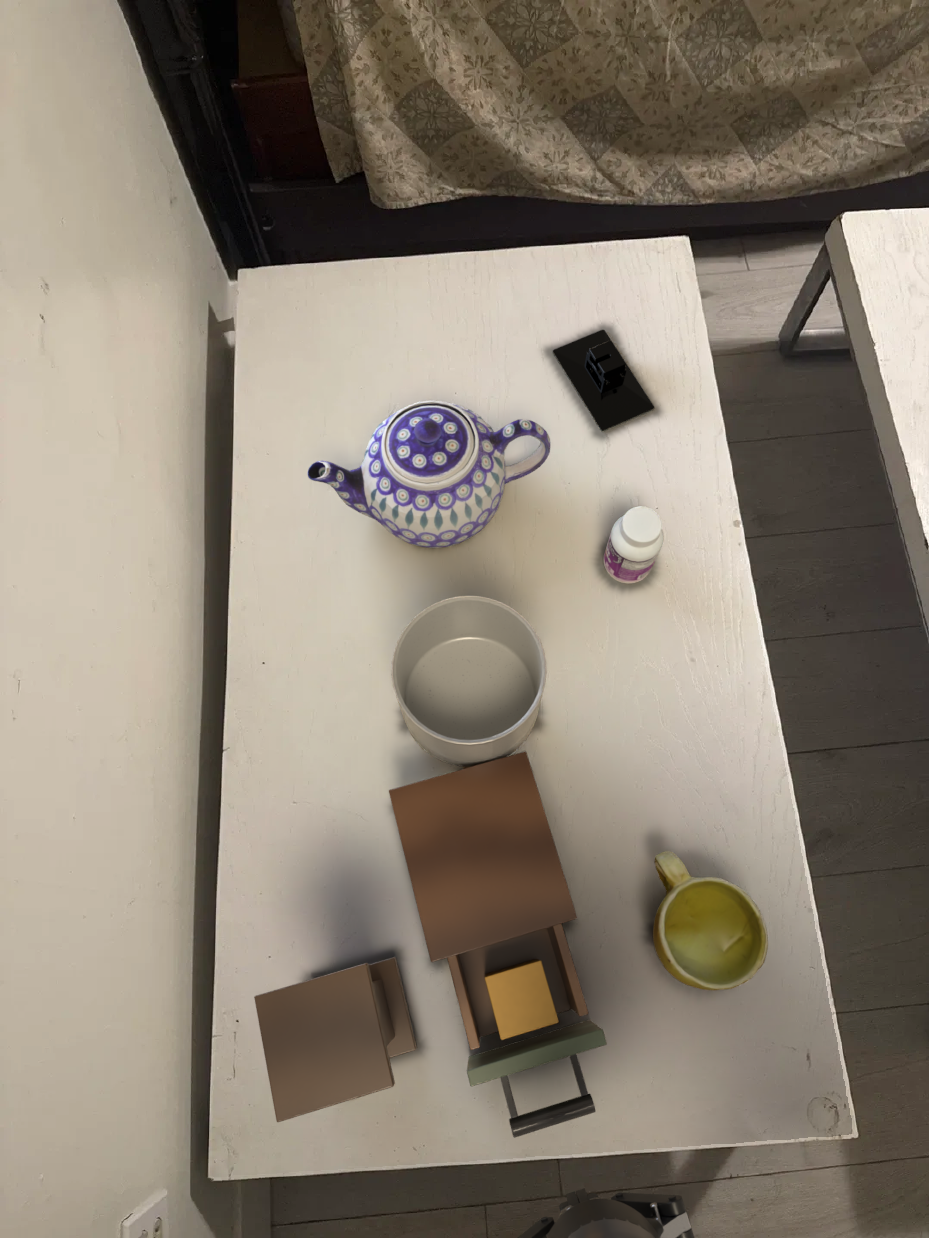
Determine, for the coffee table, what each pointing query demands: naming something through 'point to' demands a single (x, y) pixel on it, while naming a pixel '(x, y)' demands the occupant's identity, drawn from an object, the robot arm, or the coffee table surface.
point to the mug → (707, 929)
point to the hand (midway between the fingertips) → (579, 1206)
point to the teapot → (433, 472)
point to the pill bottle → (634, 545)
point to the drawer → (536, 1049)
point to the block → (521, 998)
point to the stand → (334, 1037)
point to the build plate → (603, 380)
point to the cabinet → (480, 856)
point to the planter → (469, 679)
